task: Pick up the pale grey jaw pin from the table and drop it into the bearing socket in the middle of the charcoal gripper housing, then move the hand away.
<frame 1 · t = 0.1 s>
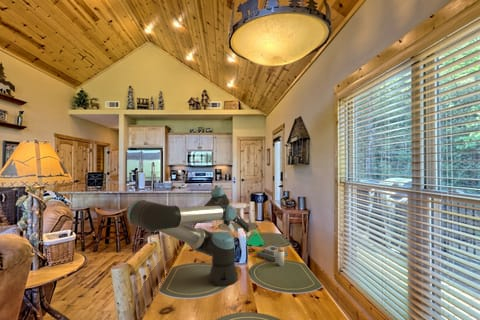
hand: (241, 233, 164), 15 cm above the table, tool tilted 35°, fingers open, 13 cm apart
green triangular block: (255, 244, 189), on the table
housing: (272, 256, 165), on the table
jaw: (281, 265, 151), on the table
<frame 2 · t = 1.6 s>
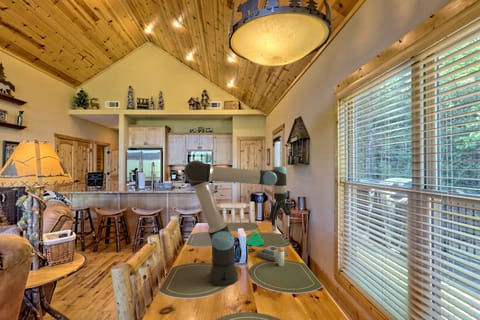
hand: (280, 228, 152), 22 cm above the table, tool pointing down, fingers open, 13 cm apart
nothing on the table moved.
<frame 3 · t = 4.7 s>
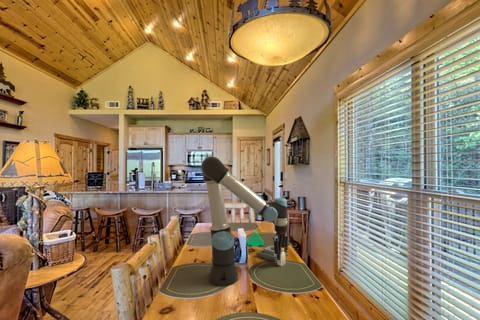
hand: (281, 264, 151), 1 cm above the table, tool pointing down, fingers closed on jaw, 3 cm apart
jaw: (281, 264, 151), on the table, touching gripper
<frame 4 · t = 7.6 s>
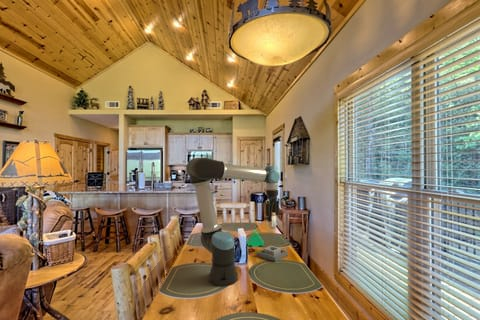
hand: (272, 225, 165), 20 cm above the table, tool pointing down, fingers closed on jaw, 3 cm apart
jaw: (272, 228, 165), point 18 cm above the table, touching gripper
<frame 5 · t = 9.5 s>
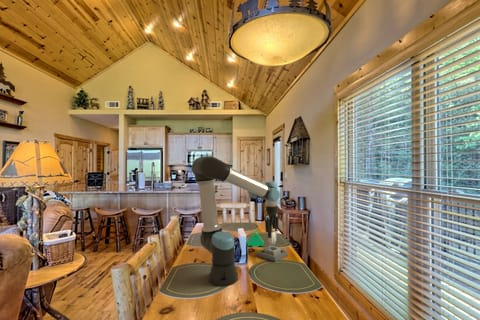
hand: (272, 241, 165), 9 cm above the table, tool pointing down, fingers closed on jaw, 3 cm apart
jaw: (272, 244, 165), point 8 cm above the table, touching gripper
when the fingers open (7 cm above the table, at t = 10.7 s): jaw drops 4 cm, resting on housing.
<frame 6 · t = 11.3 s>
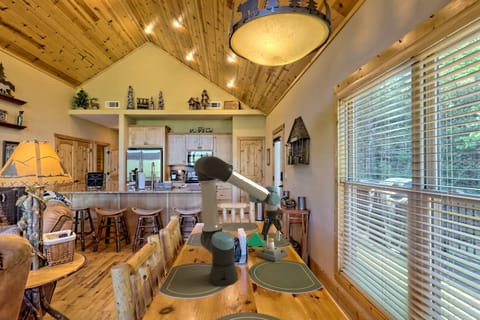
hand: (272, 242, 165), 9 cm above the table, tool pointing down, fingers open, 12 cm apart
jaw: (272, 254, 165), point 1 cm above the table, touching housing
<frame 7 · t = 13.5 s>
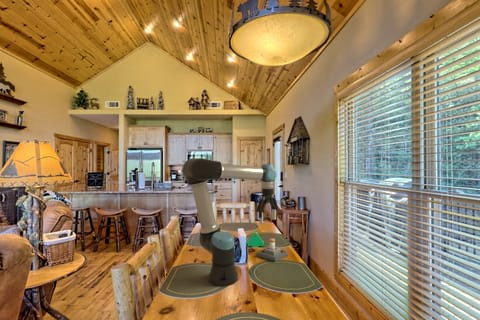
hand: (267, 221, 165), 23 cm above the table, tool pointing down, fingers open, 13 cm apart
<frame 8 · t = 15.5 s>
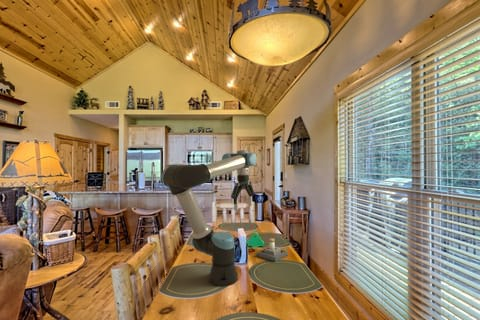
hand: (243, 207, 164), 32 cm above the table, tool pointing down, fingers open, 13 cm apart
at the end: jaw 0.1 cm off-centre on the housing, point 1.0 cm above the housing's base; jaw tilted 1°; the gripper is holding nothing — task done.
